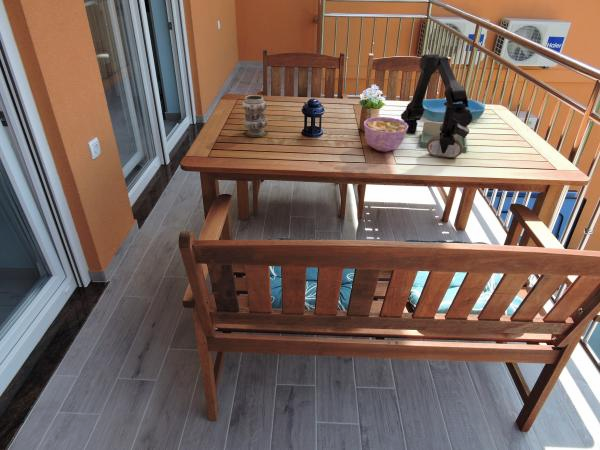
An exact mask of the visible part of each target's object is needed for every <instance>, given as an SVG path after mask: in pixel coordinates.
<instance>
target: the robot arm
mask: <svg viewBox="0 0 600 450" xmlns="http://www.w3.org/2000/svg"><path fill="white" fill-rule="evenodd" d="M418 68H419V70H420V75H419V78H418V81H417V84H416V86H415V90H414V94H413V96H412V99H411V101H410V102H409V103H408V104H407V105H406V107H405V110H403V112H402V113H401V114H400V120H401V121H404V122H405V123H407V125H408V129H407V131H406V134H412V135H415V133H416V132H417V128H418V122H417V121H421V119H422V117H423V116H424V114H423V113H424V110H425V108H424V107H423V104H422V103H423V100H425V96H426V93H427V90H428V87H429V84H430V82H431V78H432V75H433V74H435V73H436V72H437V71H438V74H439V76H440V79H441V81H442V83H443V85H444V88H445V90H444V93H443V94H444V98H445V99H446V101H447V102H445V103H444V105H445V106H446V110H445V115H444V118H443V122H442V123H443V124H441V126H440V131H441V133H440V138H439V143H440V146H441V151H442V153H445V151H446V150H447V148H448V146H449V145H454V144H455V137H454V135H456V134H458V135H460V136H462V137H463V138H465V137H466V138H467V136H468V134H469V133H470V128H469V125H470V124H471V123H472V119H473V118H472V114H471V113H470V110H469V109H466V108H467V107H468V100H467V99H468V95H467V91H466V89H465V87H464V86H463V84H461V83H459V82H458V80H457V79H456V77H455V74H454V72H453V69H452V67H451V65H450V62H449V57H448V56H446V55H443V56H442V55H441V56H440V55H439V54H438V53H428V54H423V55H422V56H421V57H420V60H419V67H418ZM461 102H463V103H461ZM455 103H459V104H455ZM467 126H468V127H467Z"/></svg>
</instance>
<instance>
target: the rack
mask: <svg viewBox="0 0 600 450" xmlns="http://www.w3.org/2000/svg"><path fill="white" fill-rule="evenodd" d="M441 124H443V122H434V121H431V120H424V121H423V125H422V130H421V135H420V136H421V137H420V143H419V147H420V148H424V149H427V143H428V141H429V140H430V139H431V138H433V137H440V133H441V131H440V126H441ZM467 127H468V128H469V125H468V126H467ZM454 137H455V139H456V140H458V141H459V142H460V143H461V144H462V151H461V153H466V152H467V150H468V149H467V148H468V146H467V136H466V137H465V138H463V137H462V136H460V135H458V134H456V135H454Z"/></svg>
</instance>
